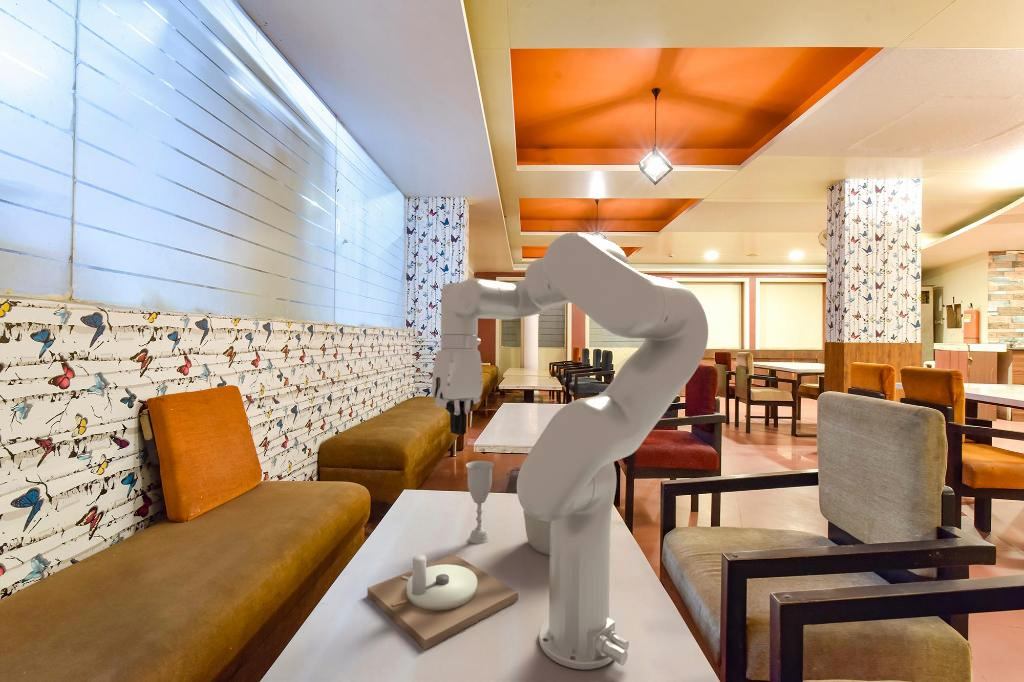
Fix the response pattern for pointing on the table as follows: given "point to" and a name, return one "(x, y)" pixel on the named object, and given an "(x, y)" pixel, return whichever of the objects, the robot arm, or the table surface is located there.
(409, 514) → the table surface
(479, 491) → the chalice
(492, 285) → the robot arm
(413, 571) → the dial
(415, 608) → the dial base
